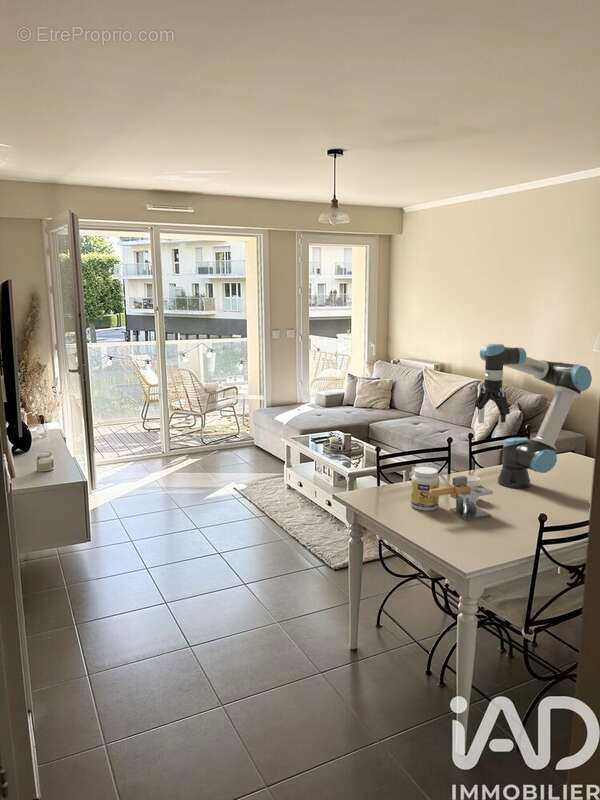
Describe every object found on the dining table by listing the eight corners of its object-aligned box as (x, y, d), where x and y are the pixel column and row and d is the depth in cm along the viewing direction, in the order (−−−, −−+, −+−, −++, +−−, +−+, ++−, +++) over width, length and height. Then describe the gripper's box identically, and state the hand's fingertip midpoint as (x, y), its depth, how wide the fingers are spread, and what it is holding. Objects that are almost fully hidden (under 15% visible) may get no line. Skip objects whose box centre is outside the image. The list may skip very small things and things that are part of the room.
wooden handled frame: (460, 493, 254) (461, 482, 254) (470, 498, 249) (470, 486, 248) (426, 498, 248) (427, 487, 247) (435, 503, 242) (435, 492, 241)
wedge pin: (462, 511, 254) (463, 475, 251) (467, 513, 251) (467, 477, 248) (452, 513, 252) (452, 477, 249) (456, 515, 249) (456, 479, 246)
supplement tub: (416, 512, 256) (417, 474, 253) (406, 502, 268) (407, 466, 265) (442, 510, 258) (444, 473, 255) (432, 501, 270) (433, 465, 267)
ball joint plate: (472, 507, 262) (473, 481, 260) (491, 516, 251) (492, 489, 249) (444, 511, 257) (445, 485, 254) (462, 521, 245) (463, 494, 243)
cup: (471, 503, 266) (472, 481, 265) (449, 496, 276) (450, 475, 274) (482, 499, 271) (483, 478, 270) (461, 492, 281) (462, 472, 279)
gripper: (468, 376, 271) (466, 421, 275) (506, 383, 248) (503, 432, 252) (481, 375, 274) (479, 419, 277) (520, 382, 251) (517, 431, 255)
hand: (490, 426), depth 265 cm, fingers open, 13 cm apart
